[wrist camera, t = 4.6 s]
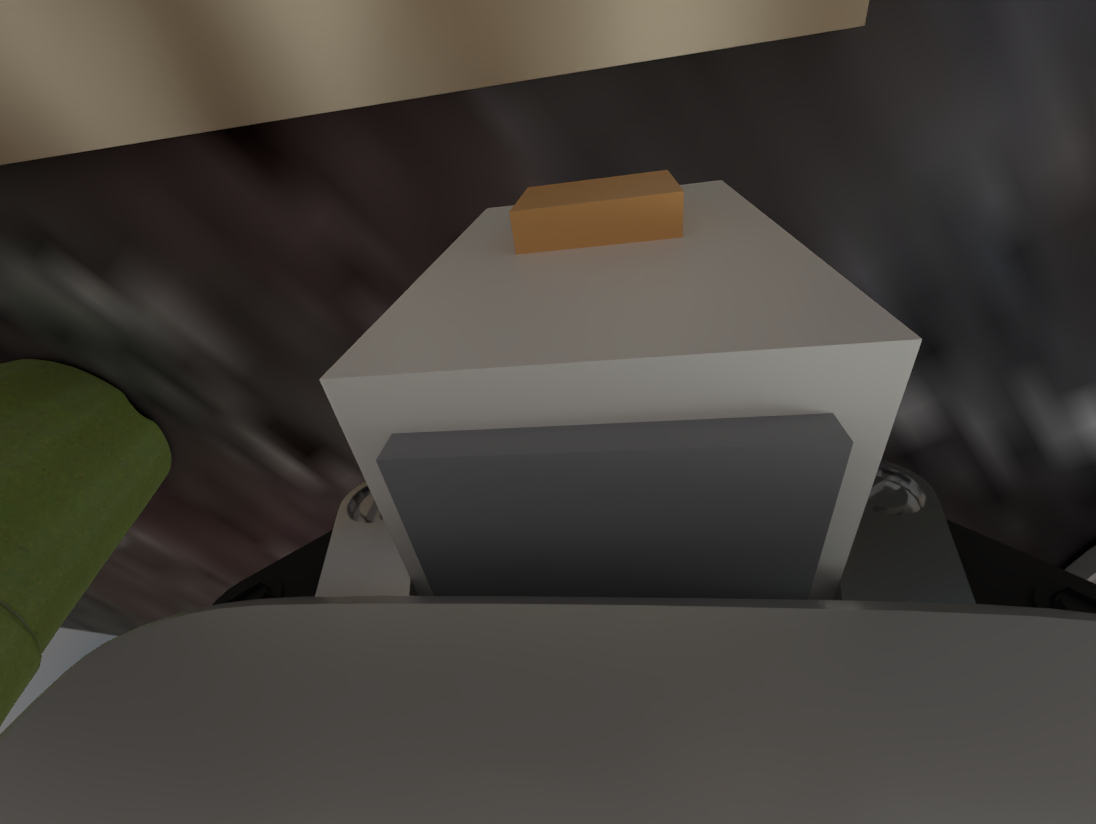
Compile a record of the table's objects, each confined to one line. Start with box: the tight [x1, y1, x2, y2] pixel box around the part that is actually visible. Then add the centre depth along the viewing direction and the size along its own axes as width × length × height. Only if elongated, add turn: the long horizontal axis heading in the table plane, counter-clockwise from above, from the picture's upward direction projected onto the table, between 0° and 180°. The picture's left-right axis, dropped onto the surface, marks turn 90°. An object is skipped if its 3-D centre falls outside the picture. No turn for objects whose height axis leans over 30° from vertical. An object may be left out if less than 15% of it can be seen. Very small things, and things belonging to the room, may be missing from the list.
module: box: [319, 170, 922, 600], centre depth 9 cm, size 5×9×8 cm, turn 7°
